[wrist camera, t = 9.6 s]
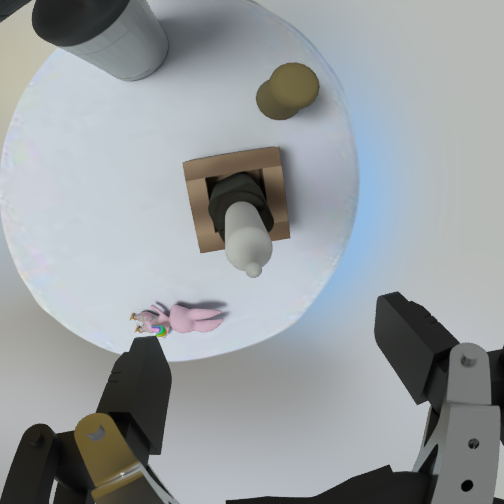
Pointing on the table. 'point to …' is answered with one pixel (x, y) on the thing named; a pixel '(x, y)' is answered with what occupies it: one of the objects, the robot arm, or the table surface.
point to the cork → (287, 91)
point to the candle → (242, 222)
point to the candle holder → (221, 166)
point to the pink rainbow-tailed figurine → (177, 320)
